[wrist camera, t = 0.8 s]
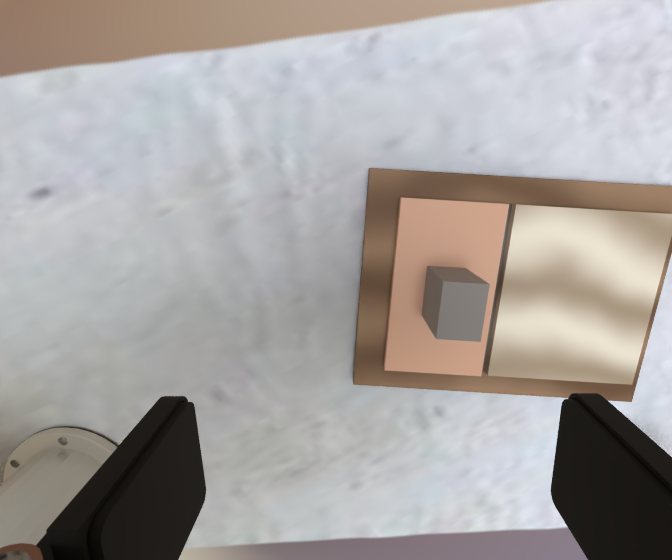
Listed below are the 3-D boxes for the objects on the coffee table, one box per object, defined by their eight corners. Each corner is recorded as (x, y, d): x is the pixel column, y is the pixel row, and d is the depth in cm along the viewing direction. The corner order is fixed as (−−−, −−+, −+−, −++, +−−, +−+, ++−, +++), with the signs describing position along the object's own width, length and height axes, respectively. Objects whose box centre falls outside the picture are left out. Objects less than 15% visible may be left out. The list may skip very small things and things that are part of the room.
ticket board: (621, 394, 35) (638, 406, 33) (353, 377, 35) (353, 389, 33) (675, 187, 31) (698, 187, 29) (369, 168, 31) (370, 167, 29)
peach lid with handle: (477, 371, 33) (505, 410, 27) (383, 365, 33) (391, 403, 28) (504, 203, 30) (542, 208, 24) (399, 197, 30) (413, 200, 24)
